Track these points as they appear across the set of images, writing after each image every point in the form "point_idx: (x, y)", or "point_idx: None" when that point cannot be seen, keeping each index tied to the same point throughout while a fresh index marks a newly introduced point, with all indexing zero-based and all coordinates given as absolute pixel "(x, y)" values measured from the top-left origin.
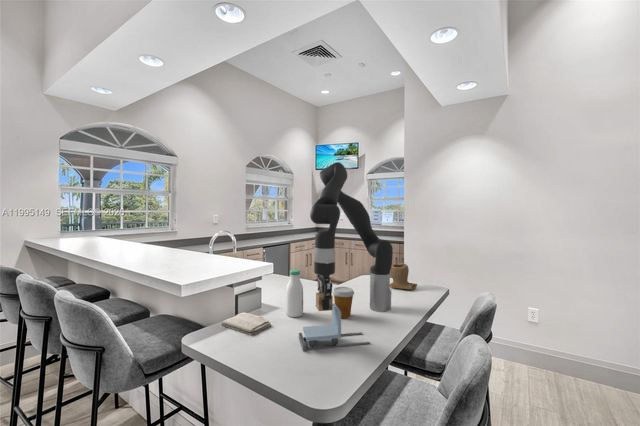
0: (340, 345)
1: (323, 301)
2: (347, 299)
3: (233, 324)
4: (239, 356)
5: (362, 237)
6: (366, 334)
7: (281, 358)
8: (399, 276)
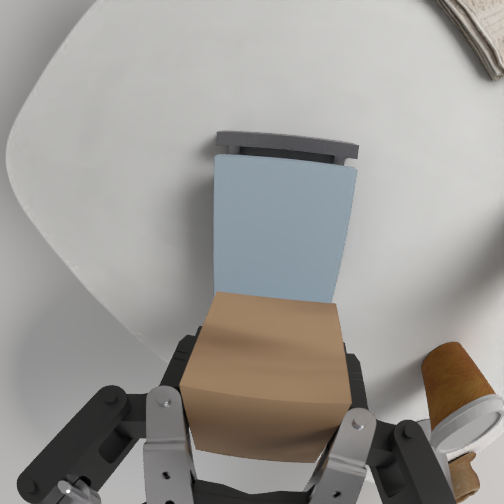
0: None
1: (179, 375)
2: (433, 420)
3: None
4: None
5: None
6: None
7: (188, 44)
8: (454, 482)
